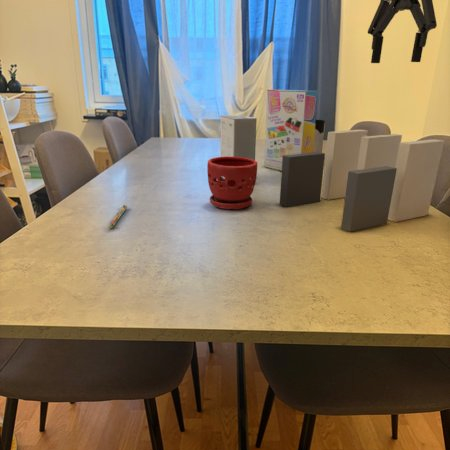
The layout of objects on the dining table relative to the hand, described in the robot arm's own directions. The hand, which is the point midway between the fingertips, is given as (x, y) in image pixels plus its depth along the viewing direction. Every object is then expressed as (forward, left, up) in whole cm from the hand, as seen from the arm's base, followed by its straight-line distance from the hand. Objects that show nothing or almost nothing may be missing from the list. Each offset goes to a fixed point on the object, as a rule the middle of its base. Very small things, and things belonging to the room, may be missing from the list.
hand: (394, 62), depth 117 cm
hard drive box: (+34, +29, -35) cm, 57 cm away
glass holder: (+57, -25, -35) cm, 71 cm away
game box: (+39, +4, -35) cm, 53 cm away
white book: (-12, +14, -35) cm, 39 cm away
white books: (-12, +14, -35) cm, 39 cm away
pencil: (+10, +78, -35) cm, 86 cm away
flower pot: (+7, +47, -35) cm, 59 cm away
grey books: (-12, +29, -35) cm, 47 cm away
